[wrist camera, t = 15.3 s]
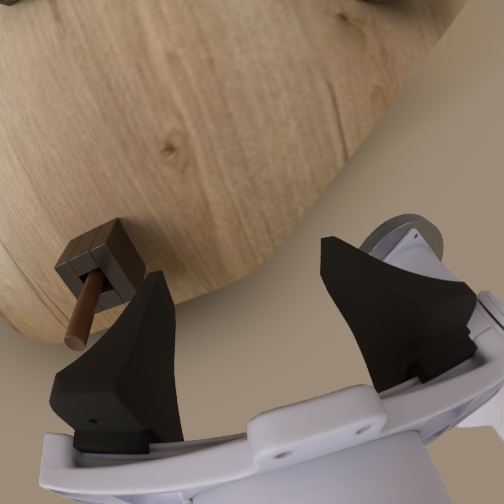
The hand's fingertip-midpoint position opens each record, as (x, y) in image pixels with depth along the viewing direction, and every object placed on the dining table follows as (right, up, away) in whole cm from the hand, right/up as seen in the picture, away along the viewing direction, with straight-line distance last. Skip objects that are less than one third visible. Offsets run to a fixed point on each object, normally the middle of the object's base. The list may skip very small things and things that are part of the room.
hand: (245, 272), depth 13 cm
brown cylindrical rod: (-12, +1, +9) cm, 15 cm away
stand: (-12, +1, +9) cm, 15 cm away
